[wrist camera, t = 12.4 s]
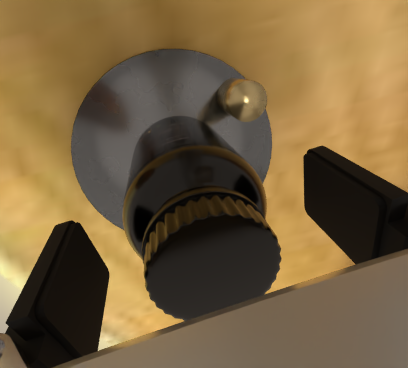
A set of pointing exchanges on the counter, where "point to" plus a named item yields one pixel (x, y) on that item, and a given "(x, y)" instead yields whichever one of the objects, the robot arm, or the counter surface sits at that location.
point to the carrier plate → (162, 117)
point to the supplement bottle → (197, 220)
